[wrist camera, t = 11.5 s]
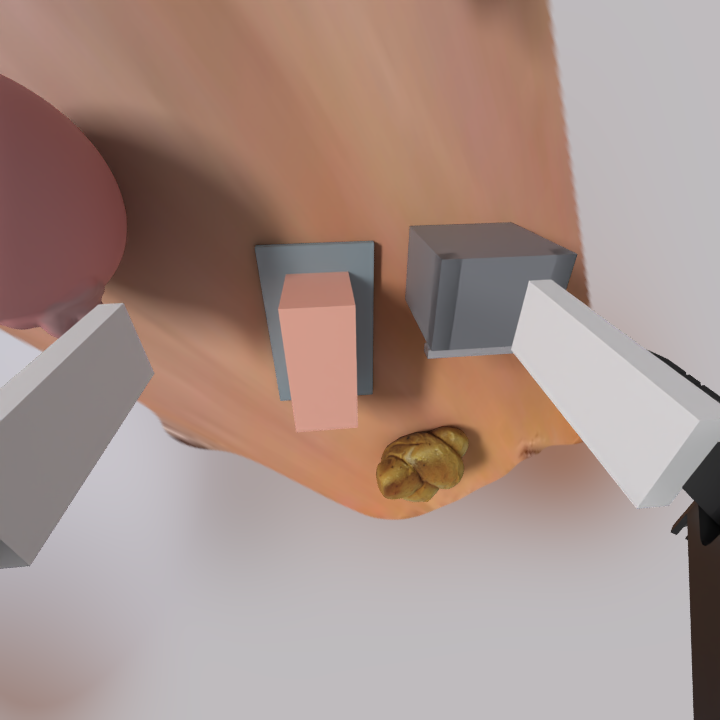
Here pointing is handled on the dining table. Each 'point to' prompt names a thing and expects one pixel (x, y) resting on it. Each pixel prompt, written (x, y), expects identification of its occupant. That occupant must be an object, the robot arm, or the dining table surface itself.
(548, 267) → the box
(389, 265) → the dining table surface
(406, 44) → the dining table surface
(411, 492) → the bread roll
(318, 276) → the salmon pink rectangular block
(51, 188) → the balloon
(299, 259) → the mat
